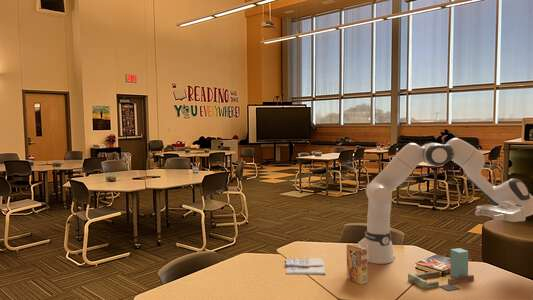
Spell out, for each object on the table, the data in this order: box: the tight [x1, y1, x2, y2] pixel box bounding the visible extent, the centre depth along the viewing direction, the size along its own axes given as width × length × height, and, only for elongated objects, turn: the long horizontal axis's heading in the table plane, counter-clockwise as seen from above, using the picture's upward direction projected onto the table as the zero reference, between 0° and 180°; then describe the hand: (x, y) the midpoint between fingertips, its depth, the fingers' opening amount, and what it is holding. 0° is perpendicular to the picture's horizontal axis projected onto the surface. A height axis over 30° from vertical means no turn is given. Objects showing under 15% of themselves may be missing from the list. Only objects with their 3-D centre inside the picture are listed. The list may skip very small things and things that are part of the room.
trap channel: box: [407, 268, 475, 292], centre depth 178 cm, size 21×26×3 cm
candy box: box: [346, 243, 368, 285], centre depth 178 cm, size 9×4×15 cm, turn 33°
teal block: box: [449, 247, 469, 278], centre depth 181 cm, size 5×5×12 cm
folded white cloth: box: [285, 257, 326, 276], centre depth 197 cm, size 19×20×2 cm
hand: (484, 215), depth 184 cm, fingers open, 8 cm apart
